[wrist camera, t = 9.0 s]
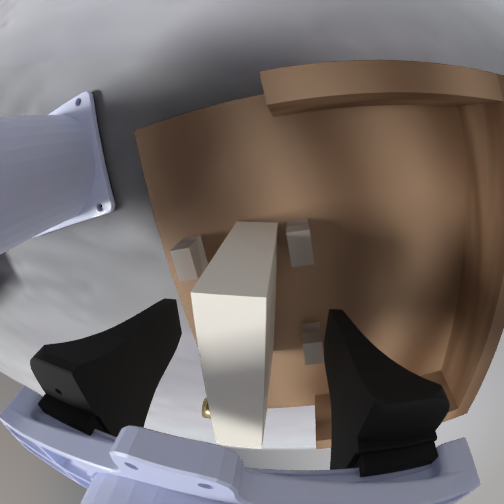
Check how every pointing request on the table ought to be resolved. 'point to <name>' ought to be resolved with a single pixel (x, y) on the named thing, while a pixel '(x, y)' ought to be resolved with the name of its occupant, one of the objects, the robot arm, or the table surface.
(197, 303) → the door
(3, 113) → the table surface
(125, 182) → the table surface
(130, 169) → the table surface
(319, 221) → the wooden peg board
